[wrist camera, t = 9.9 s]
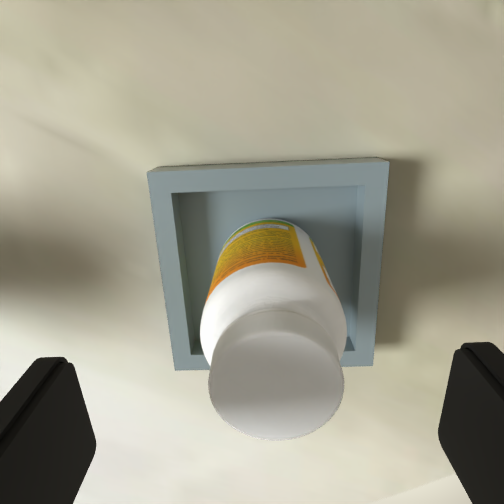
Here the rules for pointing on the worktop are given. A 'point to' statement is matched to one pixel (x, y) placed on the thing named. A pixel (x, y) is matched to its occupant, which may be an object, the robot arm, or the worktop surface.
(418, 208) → the worktop surface
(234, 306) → the supplement bottle
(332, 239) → the tray
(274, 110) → the worktop surface
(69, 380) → the robot arm
